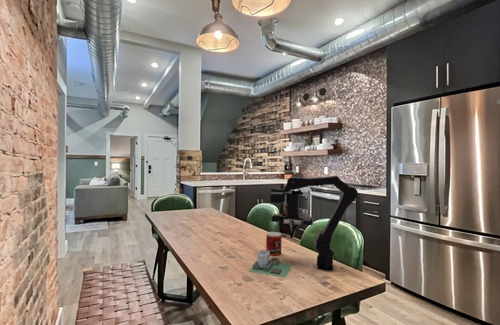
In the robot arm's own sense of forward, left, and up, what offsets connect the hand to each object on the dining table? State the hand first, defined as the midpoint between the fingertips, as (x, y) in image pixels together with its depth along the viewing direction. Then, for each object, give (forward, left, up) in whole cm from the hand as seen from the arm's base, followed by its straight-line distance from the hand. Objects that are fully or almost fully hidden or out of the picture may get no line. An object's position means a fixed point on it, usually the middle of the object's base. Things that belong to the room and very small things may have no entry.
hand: (291, 238), depth 129 cm
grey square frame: (+10, +10, -12) cm, 19 cm away
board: (+7, +9, -12) cm, 17 cm away
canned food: (+11, -10, -13) cm, 20 cm away
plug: (+10, +10, -11) cm, 18 cm away
